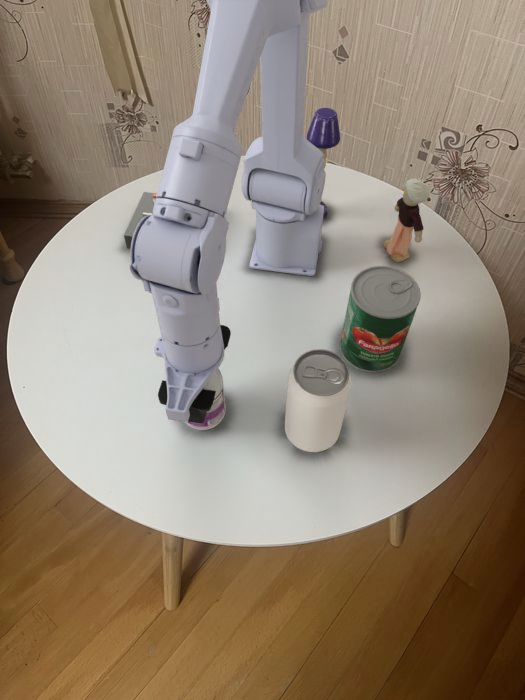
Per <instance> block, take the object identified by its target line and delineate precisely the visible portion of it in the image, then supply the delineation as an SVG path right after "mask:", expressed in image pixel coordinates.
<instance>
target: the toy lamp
mask: <svg viewBox="0 0 525 700" xmlns="http://www.w3.org/2000/svg"><path fill="white" fill-rule="evenodd" d="M340 132H341V131H340V124H339V116H338V113H337V111H336V110H335V109H333V108H331V107H321V108H318V109H316V110H315V112H314V114H313V117H312V120H311V121H310V124H309V127H308V129H307V132H306V139H307V140H308V141H309V142H310V143H312V144H313V145H314V146H315V147H317V148H318V149H319V150H320V151H321V152H322V153H323V154H324V155H323V159H324V169H326V165H327V162H326V159H327V157H328V150H329V149H332V148H334V147H335V148H336V146H337V145H339V144H340V141H341V133H340ZM322 197H323V196H322ZM322 197H321V201H320V205H323V206H324V215H323V220H325V219H326V218H327V217H328V214H329V211H328V207H327V205H326V203H324V201H322Z"/></svg>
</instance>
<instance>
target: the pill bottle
mask: <svg viewBox="0 0 525 700" xmlns="http://www.w3.org/2000/svg"><path fill="white" fill-rule="evenodd" d="M203 389H207V390H213V391H216V394H215V397H214V401H213V405H212V407H211V409H210V410H209V411H207V413H206V417H205V420H204V423H202V424H201V423H194V422H184V423H185V424H186V425H187V426H188V427H190V428H191V429H194V430H196V431H197V430H199V431H207V430H210V429H211V430H212V429H213V428H216V426H218V425H219V424H220V423H221V422H222V421H223V420H224V417H225V415H226V412H227V411H226V410H227V407H226V399H225V398H226V396H225V389H224V377H223V374H222V372H221V370H220V369H219V368H218V369H217V370H216V372H215V373H214V374H213V376H212V377H211V378H210V380H209V381H208V382H207V384H206V385H205V386H204V388H203Z"/></svg>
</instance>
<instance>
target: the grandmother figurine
mask: <svg viewBox="0 0 525 700" xmlns="http://www.w3.org/2000/svg"><path fill="white" fill-rule="evenodd" d="M404 187H405V190H403V193H402V197H400V198H399V199H398V200H397V202H396V204H395V205H394V212H397V213H398V214H397V215H398V217H397V223H396V226H395V228H394V231H393V233H392V234H391V237H390V238H388V239H386V240H384V242H383V247H384V248H385V249H386V253H387V254H388V255H389V256H390V258H391V260H392V261H394V262H396V263H401V262H404V261H405V260H408V259H409V258H410V253H409V249H410V245H411V241H412V238H413V232H414V238H413V239H414V242H415V243H421V242H423V241H422V240H423V231H424V225H423V220H422V217H421V214H420V204H422V203H424V202H425V203H426V202H427V200H428V199H429V197H430V192H429V189H428V186H427V185H426V184H425V182H423V180H420V179H417V178H410V179H408V180H407V181H406V182H405V184H404Z"/></svg>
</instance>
